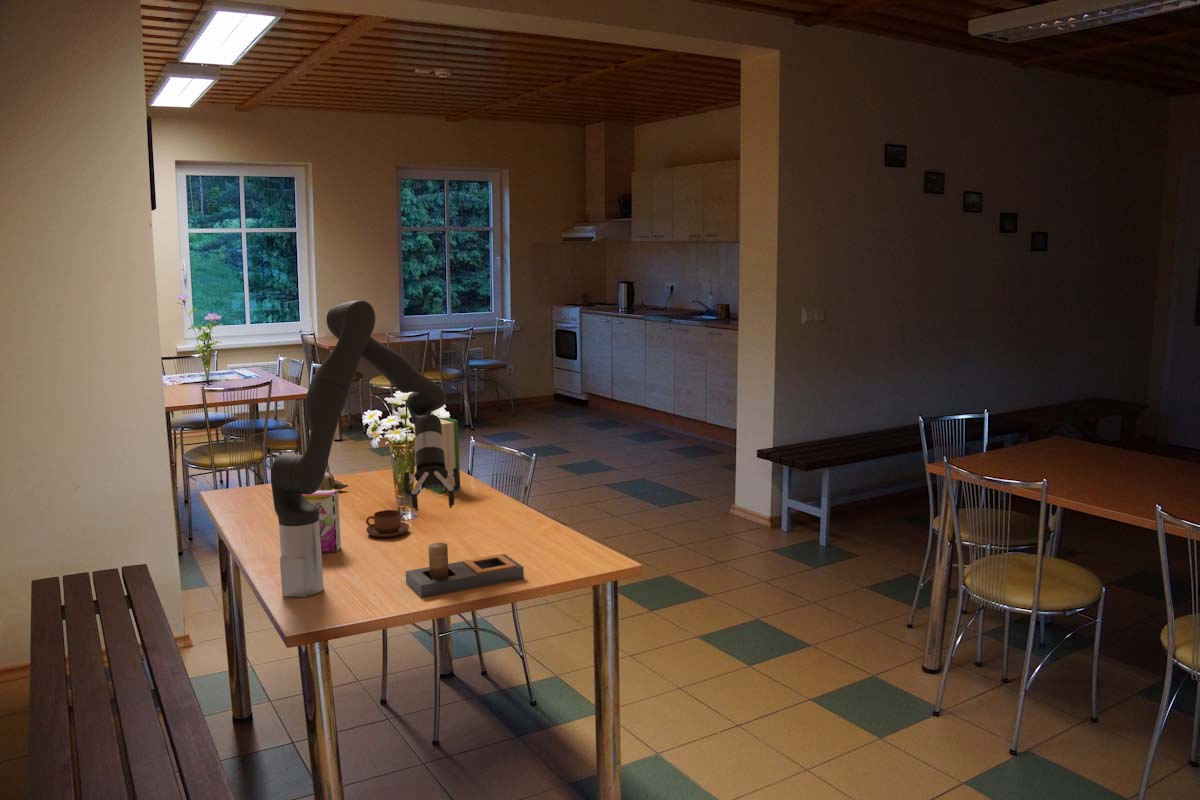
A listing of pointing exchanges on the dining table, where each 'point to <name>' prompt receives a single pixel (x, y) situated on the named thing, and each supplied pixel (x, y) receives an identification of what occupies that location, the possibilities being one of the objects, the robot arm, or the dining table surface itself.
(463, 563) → the grey peg board
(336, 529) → the candy bar box
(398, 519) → the cup and saucer
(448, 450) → the hardback book
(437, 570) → the walnut peg
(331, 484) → the ceramic sculpture
